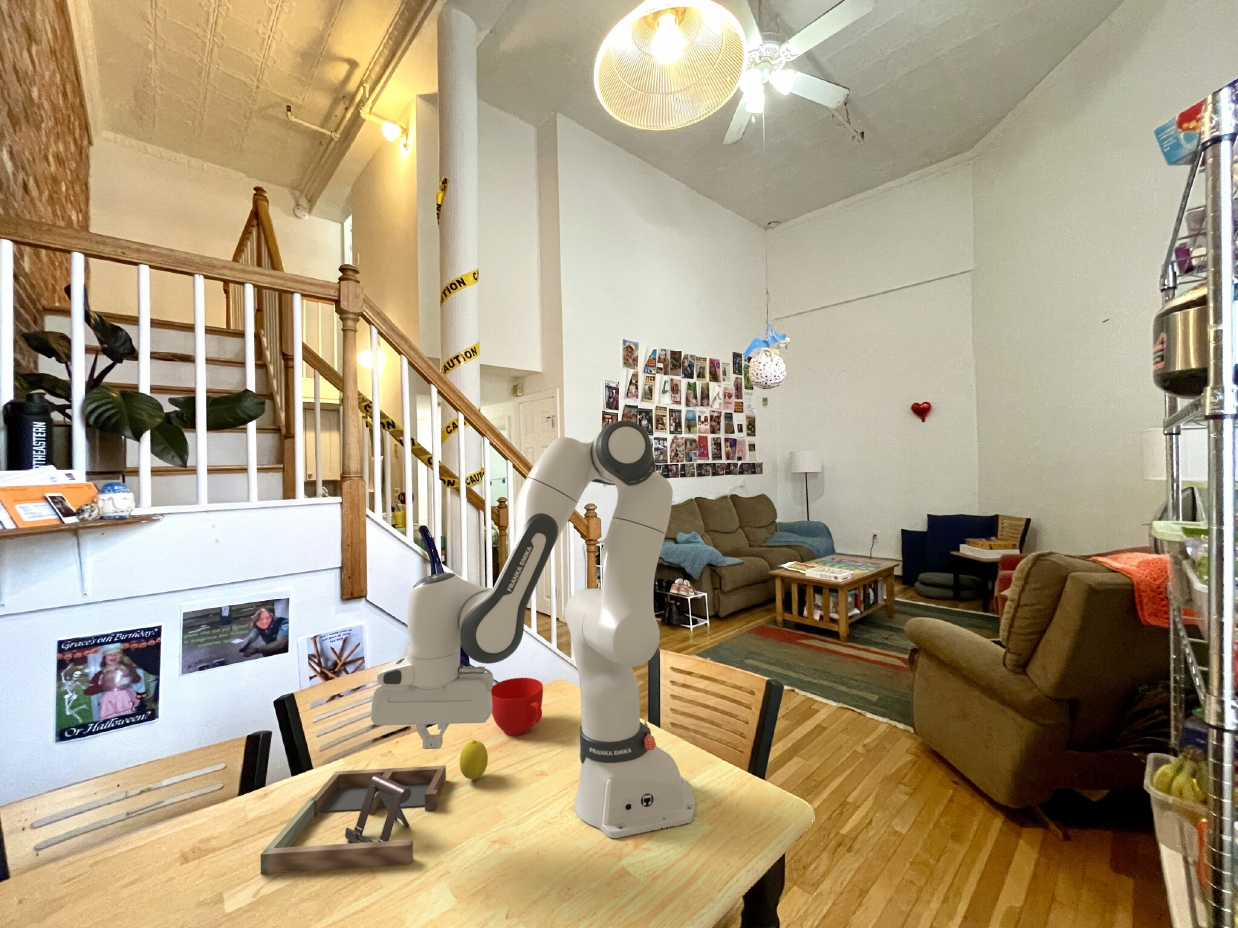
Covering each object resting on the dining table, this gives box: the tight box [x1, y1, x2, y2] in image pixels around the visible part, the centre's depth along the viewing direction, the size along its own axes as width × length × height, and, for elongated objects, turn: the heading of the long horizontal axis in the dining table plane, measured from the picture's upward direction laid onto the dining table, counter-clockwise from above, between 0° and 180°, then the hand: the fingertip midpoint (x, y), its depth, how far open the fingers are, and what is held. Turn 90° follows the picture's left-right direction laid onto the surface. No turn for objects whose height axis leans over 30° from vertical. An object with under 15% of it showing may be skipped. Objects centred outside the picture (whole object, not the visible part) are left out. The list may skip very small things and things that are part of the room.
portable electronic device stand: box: [344, 775, 411, 843], centre depth 88 cm, size 9×8×8 cm
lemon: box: [459, 739, 489, 781], centre depth 104 cm, size 6×6×8 cm
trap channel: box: [260, 765, 447, 874], centre depth 92 cm, size 23×23×3 cm
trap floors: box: [320, 783, 430, 814], centre depth 98 cm, size 20×7×1 cm, turn 93°
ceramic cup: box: [491, 677, 544, 736], centre depth 123 cm, size 13×17×10 cm
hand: (432, 747), depth 89 cm, fingers closed
